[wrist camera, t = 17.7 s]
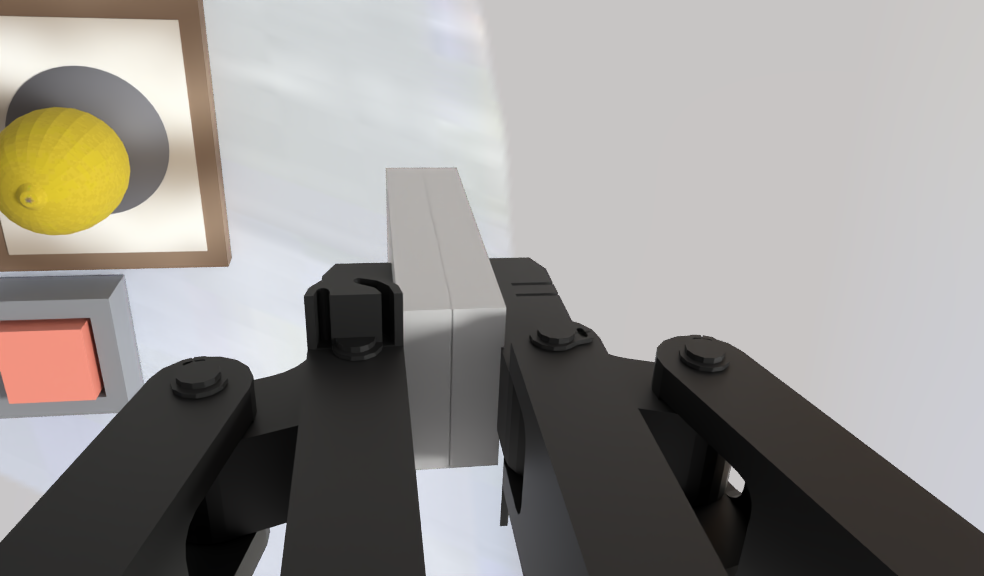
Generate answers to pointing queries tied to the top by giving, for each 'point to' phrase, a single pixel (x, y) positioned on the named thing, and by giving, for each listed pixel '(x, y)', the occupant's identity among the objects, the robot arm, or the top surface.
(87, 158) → the lemon
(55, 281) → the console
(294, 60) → the top surface
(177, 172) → the board
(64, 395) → the button
